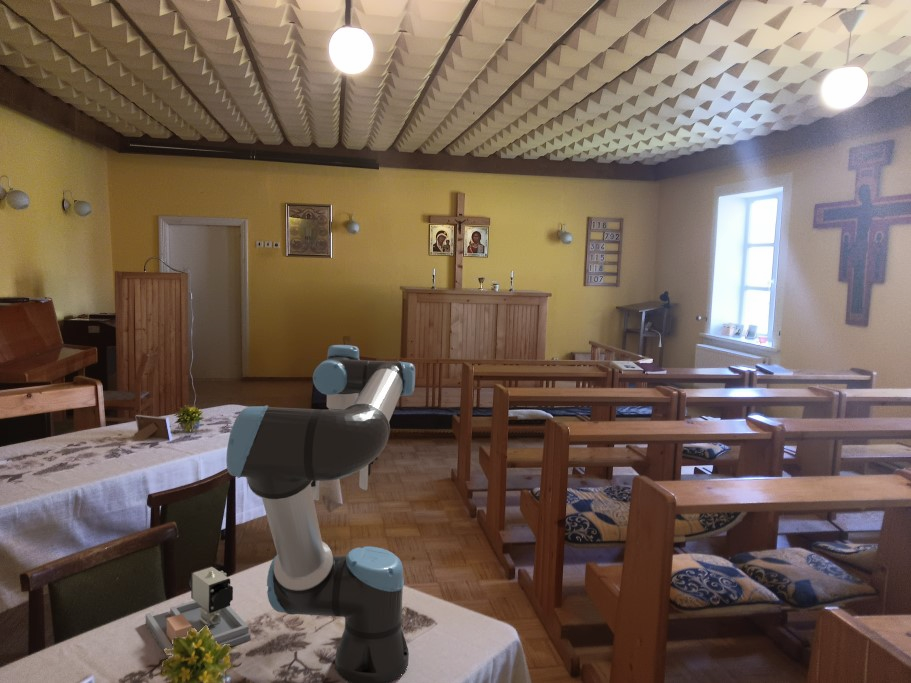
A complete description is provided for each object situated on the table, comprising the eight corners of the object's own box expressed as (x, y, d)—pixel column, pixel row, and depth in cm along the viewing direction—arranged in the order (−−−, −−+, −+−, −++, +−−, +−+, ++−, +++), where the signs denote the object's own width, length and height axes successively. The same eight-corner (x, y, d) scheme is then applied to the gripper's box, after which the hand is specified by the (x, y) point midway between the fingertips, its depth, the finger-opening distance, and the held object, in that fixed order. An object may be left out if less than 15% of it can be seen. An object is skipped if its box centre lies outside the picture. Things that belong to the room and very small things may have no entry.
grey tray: (250, 639, 137) (250, 624, 137) (173, 666, 126) (173, 649, 126) (216, 602, 152) (216, 587, 152) (145, 623, 141) (145, 608, 141)
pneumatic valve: (213, 636, 135) (213, 583, 134) (188, 615, 143) (188, 565, 142) (236, 627, 140) (237, 575, 138) (211, 607, 147) (211, 558, 146)
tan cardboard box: (191, 646, 132) (191, 625, 131) (175, 651, 129) (175, 630, 129) (182, 633, 136) (182, 613, 136) (166, 638, 134) (166, 618, 134)
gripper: (376, 401, 163) (373, 480, 165) (287, 411, 147) (285, 498, 149) (393, 406, 158) (390, 488, 160) (302, 417, 141) (300, 508, 143)
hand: (339, 493), depth 154 cm, fingers open, 13 cm apart
